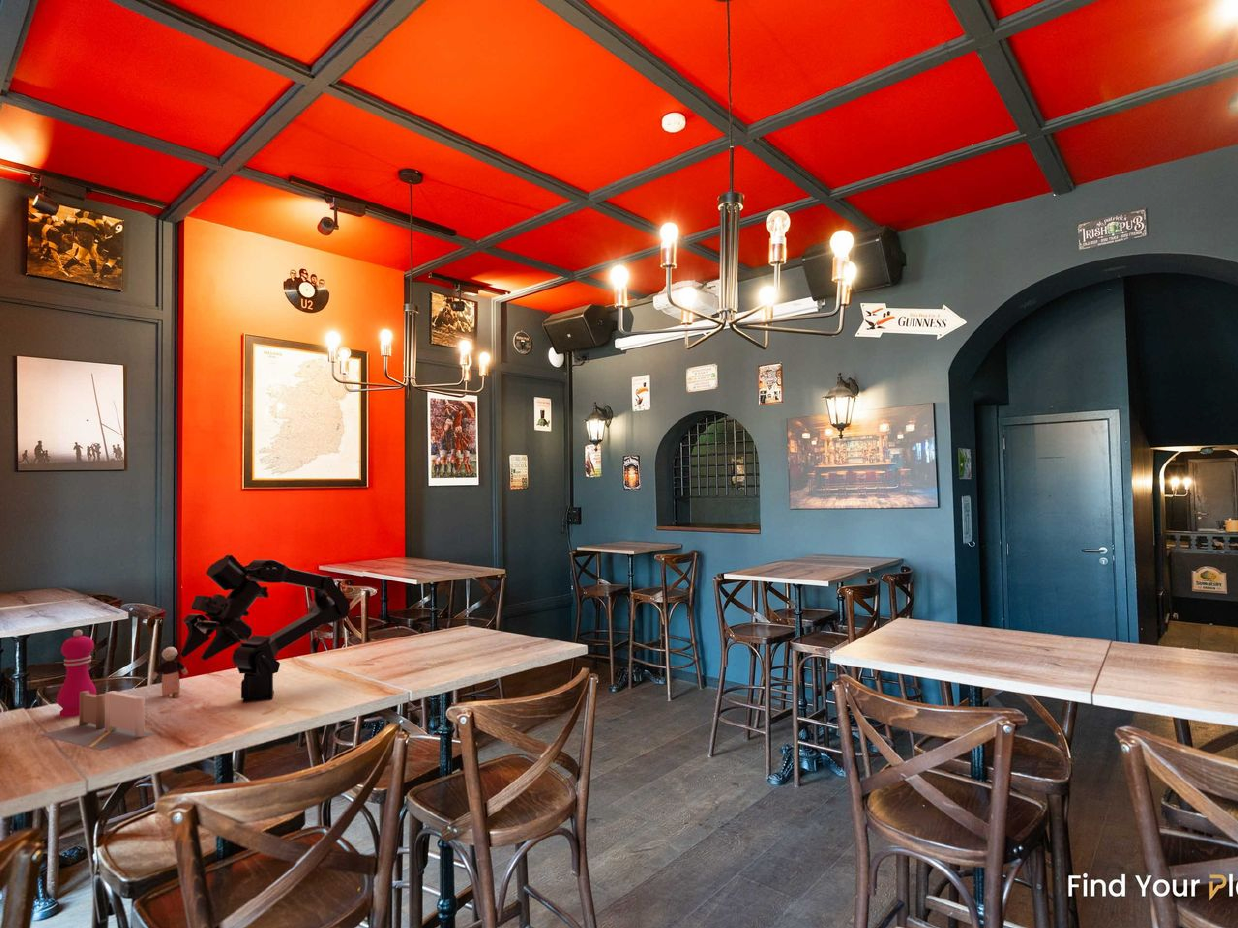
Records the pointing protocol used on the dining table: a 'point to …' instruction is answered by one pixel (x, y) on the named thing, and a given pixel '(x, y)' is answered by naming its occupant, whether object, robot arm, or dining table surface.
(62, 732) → the board
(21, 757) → the dining table surface
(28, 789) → the dining table surface
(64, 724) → the dining table surface
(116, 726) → the fence gate
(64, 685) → the pepper mill
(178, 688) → the grandmother figurine
